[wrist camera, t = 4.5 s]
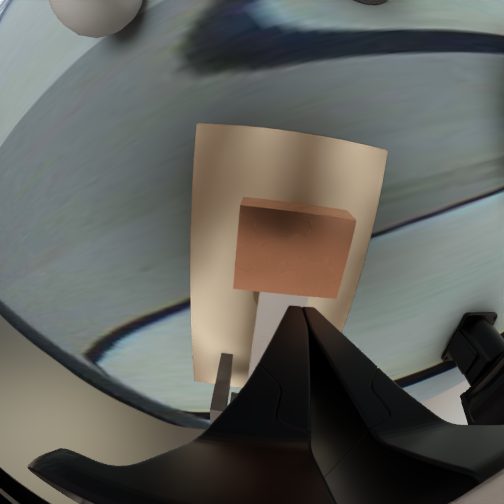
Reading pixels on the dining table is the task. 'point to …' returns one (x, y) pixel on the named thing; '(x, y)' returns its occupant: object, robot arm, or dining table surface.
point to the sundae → (372, 1)
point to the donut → (95, 15)
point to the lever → (288, 259)
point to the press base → (226, 229)
